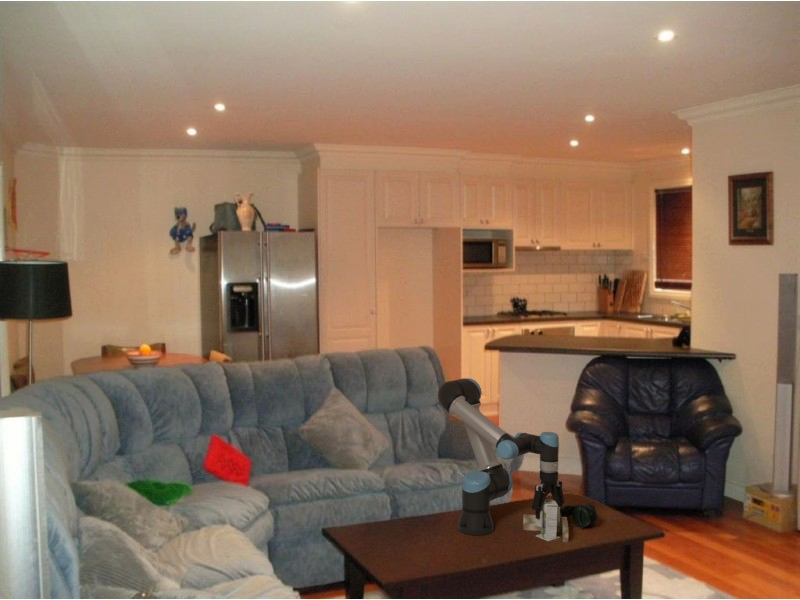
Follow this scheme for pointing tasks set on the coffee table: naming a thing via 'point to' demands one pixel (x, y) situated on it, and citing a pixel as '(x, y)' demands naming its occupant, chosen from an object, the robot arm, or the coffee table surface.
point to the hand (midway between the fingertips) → (547, 523)
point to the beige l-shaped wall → (530, 524)
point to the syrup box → (549, 519)
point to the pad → (547, 538)
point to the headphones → (580, 514)
